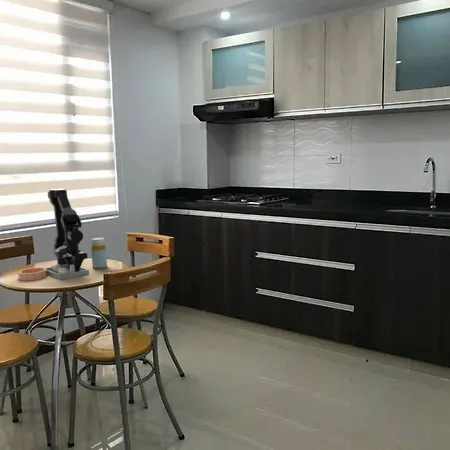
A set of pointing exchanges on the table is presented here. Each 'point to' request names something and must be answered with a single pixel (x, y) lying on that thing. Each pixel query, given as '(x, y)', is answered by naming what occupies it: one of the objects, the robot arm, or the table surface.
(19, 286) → the table surface
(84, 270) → the tray
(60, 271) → the pebble
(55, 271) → the pebble
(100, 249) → the bottle
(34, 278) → the bowl
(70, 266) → the pebble
